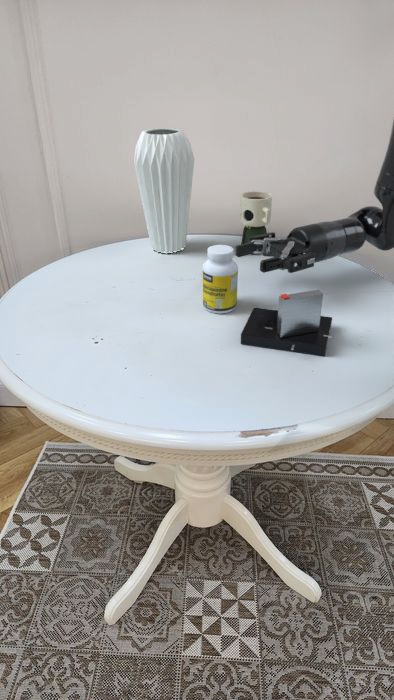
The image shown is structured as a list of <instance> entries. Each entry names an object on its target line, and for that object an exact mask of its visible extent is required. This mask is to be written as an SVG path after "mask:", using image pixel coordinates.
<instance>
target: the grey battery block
mask: <svg viewBox="0 0 394 700" xmlns="http://www.w3.org/2000/svg"><path fill="white" fill-rule="evenodd" d="M323 298H324V293H323V292H322V291H321V290H320V289H314V290H307V291H300V292H295V293H289V294H287V293H283V294H280V295H279V296H278V308H277V310H278V321H277V335H278V336H279V337H280V338H284V337H289V336H295V335H300V334H306V333H311V332H317V331H319V325H320V316H322V308H323V307H322V306H323Z"/></svg>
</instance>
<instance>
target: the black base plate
mask: <svg viewBox="0 0 394 700" xmlns="http://www.w3.org/2000/svg"><path fill="white" fill-rule="evenodd" d="M277 321H278V309H269V308H261V307H255V306H254V307H253V309H252V310H251V312H250V315H249V316H248V319H247V320H246V323H245V325H244V326H243V329H242V331H241V333H240V345H245V346H251V347H257V348H264V349H271V350H278V351H284V352H285V351H286V352H292V353H299V354H305V355H313V356H320V357H326V353H327V348H328V343H329V339H332V338H333V335H331V330H332V324H333V317H331V316H326V315H325V316H324V315H321V316H320V325H319V331H317V332H311V333H306V334H300V335H295V336H289V337H284V338H280V337H279V336H278V335H277Z"/></svg>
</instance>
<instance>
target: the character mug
mask: <svg viewBox="0 0 394 700" xmlns="http://www.w3.org/2000/svg"><path fill="white" fill-rule="evenodd" d="M239 200H240V202H239V207H240V214H239V222H240V224H241V225H243V226H244V227H243V230H242V235H241V244H245V243H249V237H250V236H256V235H261V234H266V233H268V232H267V226H269V224H271V221H272V206H273V203H272V202H273V194H272V193H270V192H267V191H261V190H250V191H249V190H248V191H244V192H242V193H241V194H240V199H239ZM241 244H240V245H241ZM268 248H269V247H267V249H268ZM260 249H263V248H260Z"/></svg>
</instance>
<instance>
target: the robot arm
mask: <svg viewBox="0 0 394 700" xmlns="http://www.w3.org/2000/svg"><path fill="white" fill-rule="evenodd" d="M392 119H393V120H392V125H391V130H390V135H389V139H388V143H387V147H386V151H385V155H384V157H383V161H382V163H381V167H380V168H379V169H380V170H379V173H378V175H377V179H376V182H375V184H374V188H373V195H374V197H375V199H377V201H378V202H379V203H380V204H381V207H382V208H381V207H378V206H375V205H374V206H373V205H367V206H364V207H362V208H360V209H358V210H356V211H355V212H353V213H351V214H349V215H348V216H346V217H345V218H340V219H335V220H329V221H326V220H325V221H320V222H316V223H310V224H307V225H301V226H296V227H295V228H293V229H291V230H290V232H289V233H288V235H287V236H279V237H276V232H267V233H266V234H261V235H256V236H250V237H249V243H245V244H236V246H235V247H234V256H235V257H237V258H243V257H246V256H251V255H254V254H255V255H262V256H263V257H269V258H265V259H262V260H261V261H260V262H259V271H260V272H261V273H263V274H265V273H269V272H273V271H277V270H280V271H285V270H287V273H288V274H294V273H297V272H300V271H304V270H308V269H310V268H314V267H315V264H317V263H321V262H323V261H327V260H330V259H331V260H332V259H334V258H335V257H338V256H342V255H346V254H351V253H353V252H356V251H359V249H361V248H362V247H363V246H364V244H365V243H366V242H367V243H369V244H370V245H371V246H373V247H375V248H376V249H378V250H380V251H386V252H387V251H391V250H393V249H394V118H392ZM267 247H268V248H269V251H268V248H267ZM260 248H263V249H260Z"/></svg>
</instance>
